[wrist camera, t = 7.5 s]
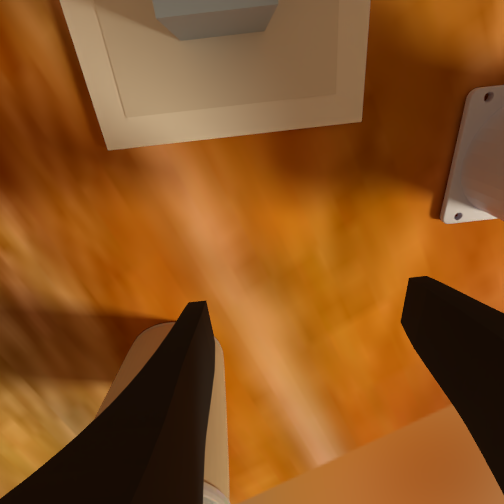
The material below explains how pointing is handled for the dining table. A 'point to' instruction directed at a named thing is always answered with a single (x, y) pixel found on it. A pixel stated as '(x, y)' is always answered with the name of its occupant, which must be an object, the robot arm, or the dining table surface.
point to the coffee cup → (217, 423)
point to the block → (213, 17)
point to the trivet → (219, 71)
